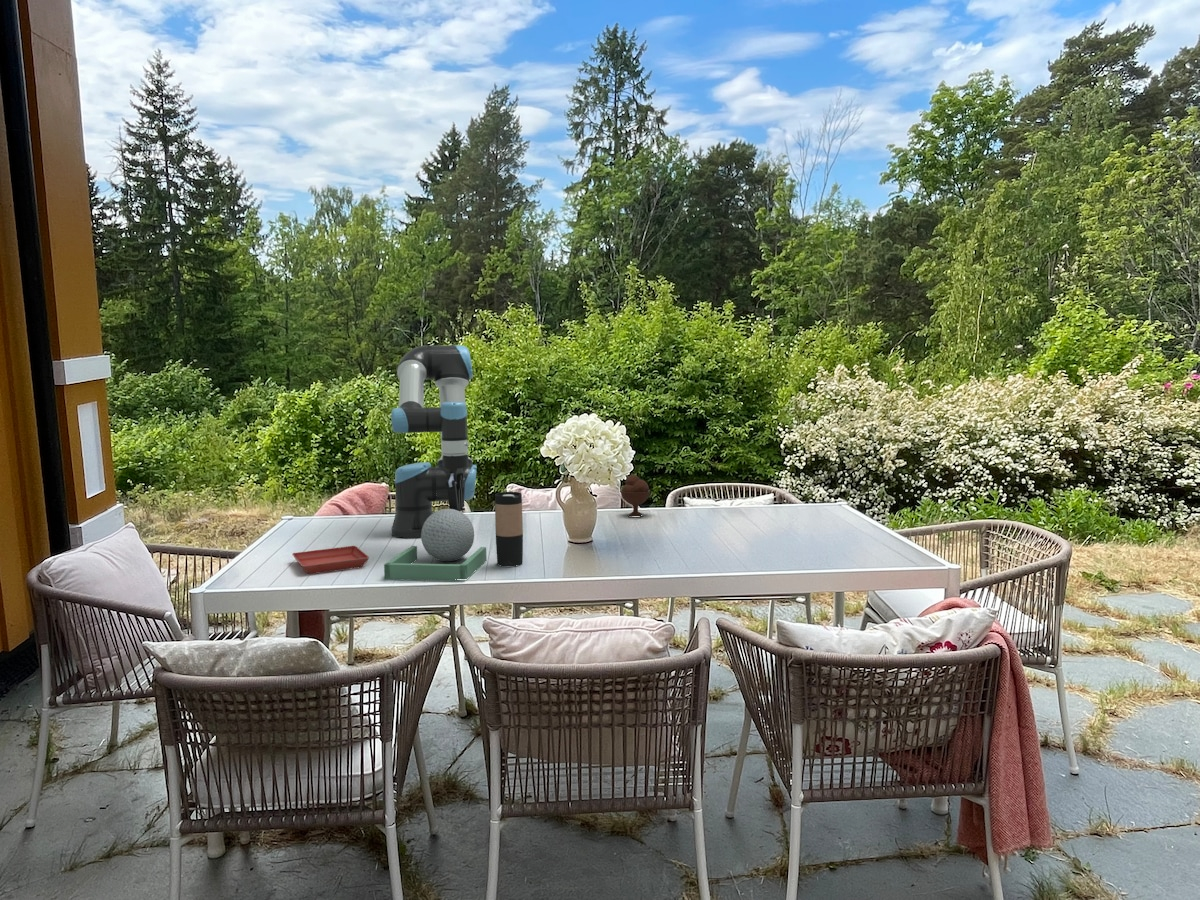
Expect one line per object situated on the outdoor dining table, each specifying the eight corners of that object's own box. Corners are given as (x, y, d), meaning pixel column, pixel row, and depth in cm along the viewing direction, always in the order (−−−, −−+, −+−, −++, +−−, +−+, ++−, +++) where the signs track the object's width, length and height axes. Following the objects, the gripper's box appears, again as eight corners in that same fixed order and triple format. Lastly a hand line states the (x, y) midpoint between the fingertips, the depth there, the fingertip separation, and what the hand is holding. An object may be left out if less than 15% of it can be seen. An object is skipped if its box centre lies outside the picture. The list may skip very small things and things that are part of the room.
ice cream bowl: (619, 518, 293) (618, 477, 291) (623, 512, 304) (623, 473, 302) (648, 519, 291) (648, 477, 290) (651, 513, 302) (651, 473, 301)
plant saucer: (292, 563, 235) (291, 552, 234) (355, 555, 243) (355, 544, 243) (302, 578, 219) (302, 565, 219) (370, 568, 228) (370, 557, 227)
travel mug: (498, 560, 234) (496, 491, 232) (525, 560, 234) (523, 491, 232) (494, 567, 226) (492, 496, 224) (521, 567, 226) (520, 496, 224)
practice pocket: (412, 559, 236) (411, 545, 236) (486, 560, 234) (486, 547, 233) (384, 579, 215) (384, 564, 215) (465, 581, 213) (465, 566, 212)
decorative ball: (485, 559, 235) (484, 508, 233) (443, 570, 224) (441, 516, 222) (453, 551, 245) (451, 502, 243) (411, 561, 234) (409, 509, 232)
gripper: (461, 456, 233) (464, 537, 236) (473, 451, 246) (475, 528, 249) (436, 456, 234) (439, 537, 237) (449, 451, 247) (451, 528, 250)
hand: (457, 532), depth 243 cm, fingers closed
